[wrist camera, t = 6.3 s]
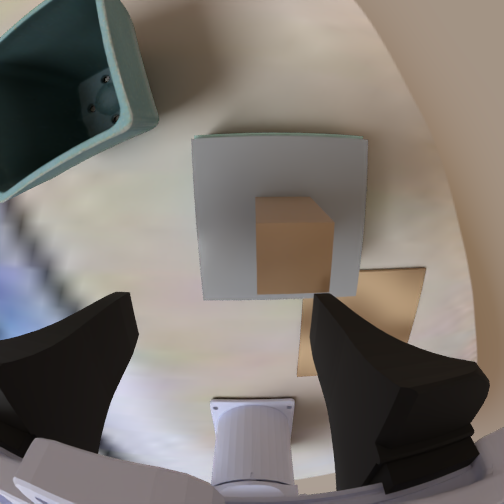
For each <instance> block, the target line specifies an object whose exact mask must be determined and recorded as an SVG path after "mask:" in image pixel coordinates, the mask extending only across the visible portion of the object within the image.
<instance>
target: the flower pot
mask: <svg viewBox="0 0 504 504" xmlns="http://www.w3.org/2000/svg"><path fill="white" fill-rule="evenodd" d="M106 76H109V81H108V82H107V83H105V82H104V78H105V77H106ZM93 105H94V106H95V111H94V112H91V111H90V108H91V106H93ZM117 115H118V116H119V118H118V120H117V122H116V123H115V122H114V118H115V116H117ZM158 121H159V116H158V112H157V109H156V106H155V103H154V100H153V96H152V93H151V89H150V86H149V83H148V79H147V76H146V72H145V69H144V65H143V61H142V58H141V54H140V50H139V46H138V42H137V37H136V33H135V29H134V26H133V23H132V20H131V18H130V16H129V14H128V12H127V10H126V9H125V7H124V6H123V4H122V3H121V1H120V0H45V1H43V2H42V3H40V4H39V5H38V6H37V7H35V8H34V9H33V10H31V11H30V12H29V13H28V14H26V15H25V16H24V17H23V18H22V19H21V20H19V21H18V22H17V23H16V24H15V25H14V26H13V27H12V28H10V29H9V30H8V31H7V32H6V33H5V34H3V35H2V36H1V37H0V203H4V202H5V201H7V200H9V199H11V198H13V197H15V196H17V195H19V194H21V193H23V192H25V191H27V190H29V189H31V188H33V187H35V186H37V185H39V184H41V183H43V182H46V181H48V180H50V179H52V178H54V177H56V176H58V175H59V174H61V173H63V172H64V171H66V170H68V169H70V168H71V167H73V166H75V165H77V164H79V163H81V162H83V161H85V160H87V159H88V158H90V157H92V156H94V155H96V154H98V153H100V152H102V151H104V150H106V149H109V148H111V147H113V146H115V145H117V144H119V143H121V142H123V141H126V140H128V139H130V138H132V137H135V136H137V135H139V134H142V133H144V132H147V131H149V130H151V129H153V128H154V127H155V126H156V125H157V124H158Z"/></svg>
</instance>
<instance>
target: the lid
mask: <svg viewBox="0 0 504 504" xmlns="http://www.w3.org/2000/svg"><path fill="white" fill-rule="evenodd" d="M191 141H192V163H193V182H194V198H195V212H196V225H197V238H198V249H199V260H200V271H201V281H202V290H203V300H272V299H305V298H314V293H330V294H332V295H333V296H335V297H348V296H356V292H357V285H358V277H359V270H360V261H361V252H362V243H363V232H364V221H365V207H366V191H367V169H368V140H364V139H352V138H336V137H314V136H238V137H216V138H200V139H191Z"/></svg>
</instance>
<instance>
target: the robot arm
mask: <svg viewBox="0 0 504 504" xmlns="http://www.w3.org/2000/svg"><path fill="white" fill-rule="evenodd" d="M138 336H139V333H138V328H137V324H136V320H135V316H134V311H133V306H132V302H131V297H130V292H115V293H112V294H110V295H108V296H106V297H104V298H102V299H100V300H98V301H96V302H94V303H93V304H91V305H89V306H87V307H85V308H84V309H82V310H80V311H78V312H76V313H74V314H72V315H70V316H68V317H66V318H65V319H63V320H61V321H59V322H56V323H54V324H52V325H50V326H47V327H45V328H42V329H40V330H37V331H34V332H31V333H27V334H24V335H21V336H18V337H14V338H9V339H5V340H0V504H504V427H502V428H500V429H498V430H497V431H495V432H493V433H490V434H488V435H486V436H484V437H482V438H481V439H479V440H478V441H477V442H475V443H474V442H473V440H472V438H471V437H470V436H472V435H473V434H474V429H473V427H472V425H471V424H470V423H471V422H472V420H473V419H474V417H475V416H476V414H477V413H478V411H479V410H480V408H481V406H482V405H483V403H484V401H485V399H486V397H487V395H488V391H489V387H490V384H489V380H488V378H487V377H486V375H485V374H484V373H483V372H482V370H481V369H480V368H479V366H478V365H477V364H476V362H472V361H466V360H461V359H455V358H450V357H446V356H442V355H439V354H435V353H432V352H429V351H426V350H423V349H420V348H418V347H415V346H413V345H410V344H408V343H405V342H403V341H401V340H399V339H397V338H395V337H393V336H391V335H389V334H387V333H385V332H384V331H382V330H380V329H379V328H377V327H376V326H374V325H372V324H371V323H369V322H368V321H366V320H365V319H364V318H362V317H361V316H359V315H358V314H357V313H355V312H354V311H353V310H351V309H350V308H349V307H347V306H346V305H345V304H344V303H342V302H341V301H340V300H339V299H337V298H336V297H335V296H333V295H332V294H330V293H314V298H313V309H312V318H311V328H310V337H309V338H310V345H311V351H312V357H313V361H314V365H315V368H316V371H317V375H318V378H319V381H320V385H321V388H322V391H323V395H324V398H325V401H326V406H327V410H328V415H329V422H330V428H331V435H332V443H333V451H334V461H335V473H336V489H337V491H335V492H327V493H320V494H311V495H307V494H300V495H299V496H298V486H297V485H294V474H293V464H292V453H291V443H290V439H291V431H292V424H293V415H294V407H295V401H294V399H292V398H286V399H254V400H232V399H213V400H211V401H210V407H211V413H212V418H213V423H214V428H215V433H216V442H215V452H214V461H213V470H212V480H211V484H210V483H208V482H206V481H203V480H201V479H198V478H196V477H194V476H191V475H189V474H187V473H182V472H178V471H173V470H169V469H165V468H161V467H156V466H150V465H144V464H139V463H134V462H129V461H124V460H120V459H116V458H111V457H107V456H103V455H100V454H98V451H99V445H100V440H101V435H102V431H103V427H104V423H105V419H106V416H107V412H108V409H109V406H110V403H111V400H112V398H113V395H114V393H115V391H116V389H117V386H118V384H119V382H120V380H121V378H122V376H123V374H124V372H125V370H126V368H127V365H128V363H129V361H130V359H131V357H132V355H133V352H134V349H135V346H136V343H137V339H138Z"/></svg>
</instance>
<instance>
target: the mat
mask: <svg viewBox="0 0 504 504" xmlns="http://www.w3.org/2000/svg"><path fill="white" fill-rule="evenodd" d="M425 271H426V269H425V268H406V269H383V270H359V277H358V285H357V292H356V296H348V297H336V298H337V299H339V300H340V301H341V302H342V303H344V304H345V305H346V306H347V307H349V308H350V309H351V310H353V311H354V312H355V313H357V314H358V315H359V316H361V317H362V318H364V319H365V320H366V321H368V322H369V323H371V324H372V325H374V326H376V327H377V328H379V329H380V330H382V331H384V332H385V333H387V334H389V335H391V336H393V337H395V338H397V339H399V340H401V341H403V342H405V343H407V342H408V339H409V335H410V332H411V329H412V325H413V321H414V318H415V314H416V310H417V306H418V302H419V298H420V294H421V290H422V285H423V281H424V276H425ZM312 309H313V298H305V299H303V305H302V320H301V333H300V346H299V357H298V368H297V377H302V376H316V375H317V371H316V368H315V365H314V361H313V357H312V351H311V345H310V338H309V337H310V328H311V318H312Z"/></svg>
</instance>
